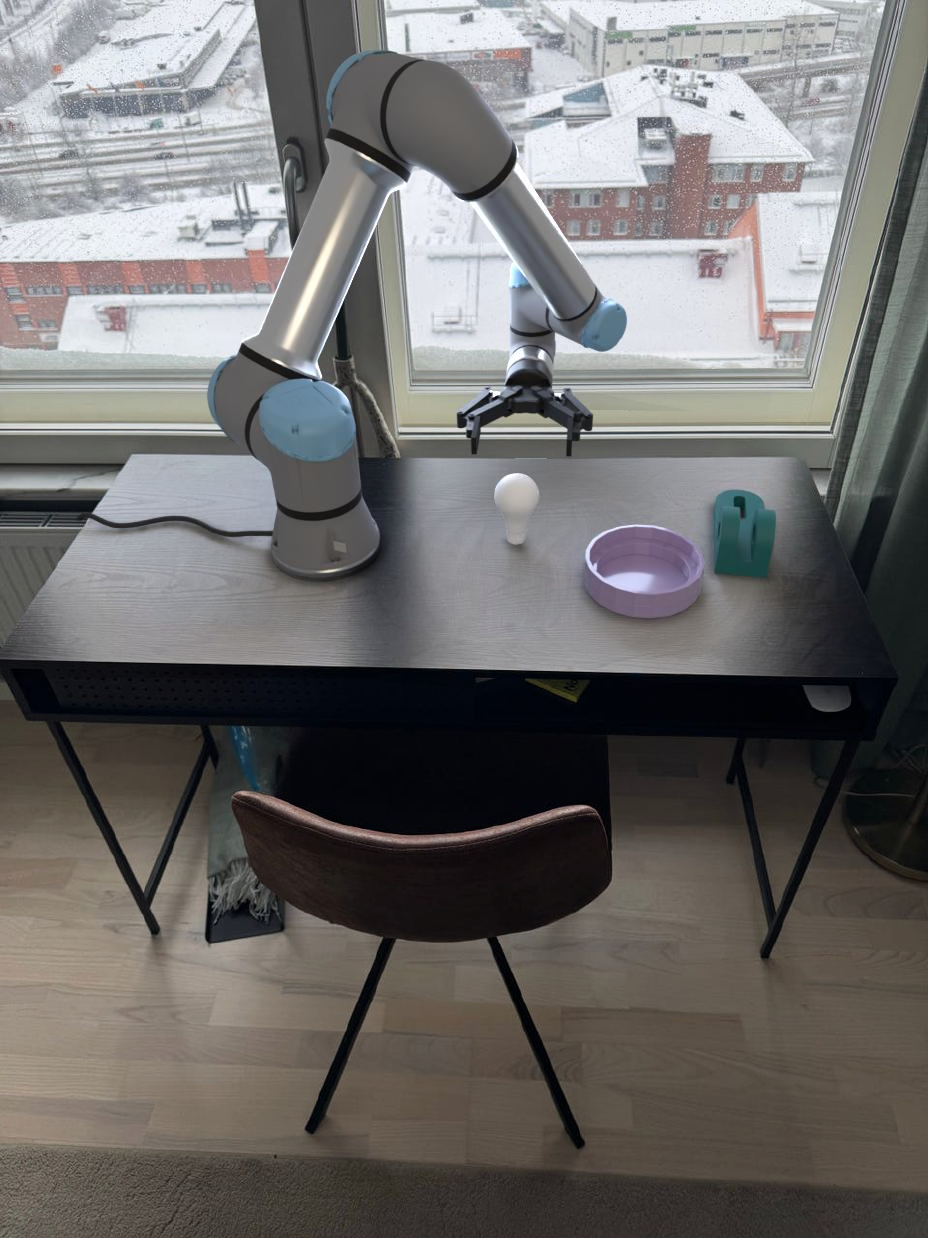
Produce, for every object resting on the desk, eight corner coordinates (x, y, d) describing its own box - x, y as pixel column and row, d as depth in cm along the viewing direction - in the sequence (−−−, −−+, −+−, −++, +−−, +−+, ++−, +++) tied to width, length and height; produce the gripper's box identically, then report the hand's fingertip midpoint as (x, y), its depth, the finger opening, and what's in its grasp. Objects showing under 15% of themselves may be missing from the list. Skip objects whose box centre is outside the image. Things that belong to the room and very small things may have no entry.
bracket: (766, 577, 124) (777, 528, 119) (714, 572, 125) (723, 524, 120) (760, 504, 138) (770, 457, 133) (713, 500, 139) (721, 454, 134)
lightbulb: (510, 526, 135) (510, 460, 128) (546, 540, 132) (548, 472, 125) (486, 547, 131) (485, 479, 124) (522, 561, 129) (523, 493, 122)
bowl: (566, 603, 121) (568, 575, 118) (606, 541, 132) (608, 514, 129) (681, 634, 116) (685, 606, 113) (712, 567, 126) (717, 540, 123)
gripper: (606, 402, 150) (607, 472, 134) (452, 400, 153) (436, 467, 137) (609, 358, 145) (611, 425, 129) (450, 356, 148) (433, 421, 132)
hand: (521, 447), depth 133 cm, fingers open, 13 cm apart
